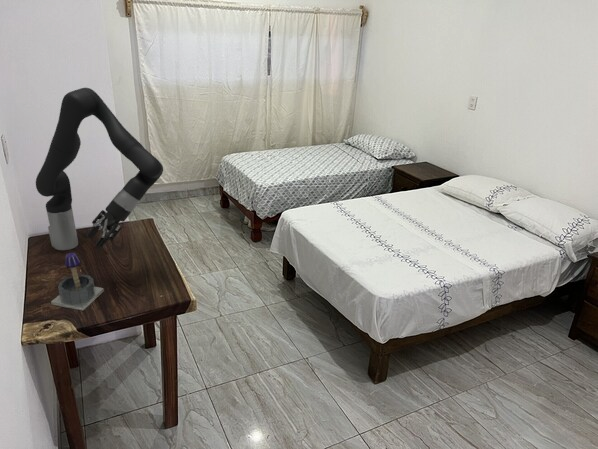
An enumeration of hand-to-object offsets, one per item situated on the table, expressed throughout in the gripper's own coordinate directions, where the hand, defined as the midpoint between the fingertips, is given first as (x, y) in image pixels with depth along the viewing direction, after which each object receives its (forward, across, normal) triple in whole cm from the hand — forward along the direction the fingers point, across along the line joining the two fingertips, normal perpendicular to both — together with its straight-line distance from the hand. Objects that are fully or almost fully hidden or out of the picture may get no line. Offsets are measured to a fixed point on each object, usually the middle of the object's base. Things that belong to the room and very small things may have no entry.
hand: (93, 242), depth 149 cm
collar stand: (+20, 0, +9) cm, 21 cm away
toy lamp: (+19, +1, +8) cm, 20 cm away
